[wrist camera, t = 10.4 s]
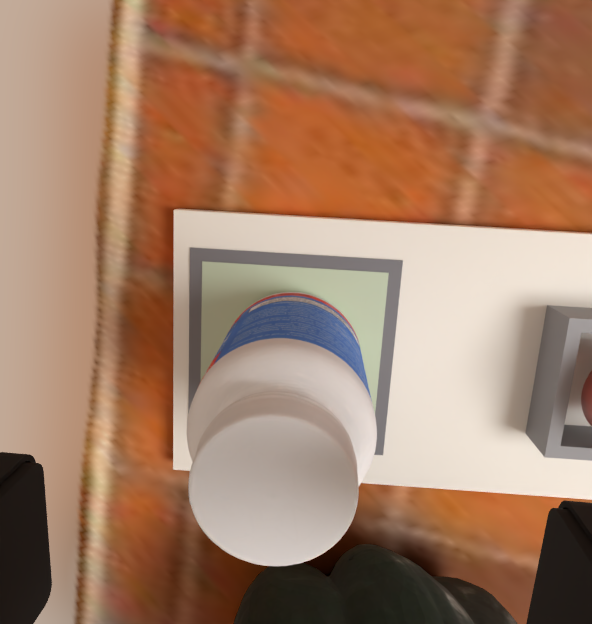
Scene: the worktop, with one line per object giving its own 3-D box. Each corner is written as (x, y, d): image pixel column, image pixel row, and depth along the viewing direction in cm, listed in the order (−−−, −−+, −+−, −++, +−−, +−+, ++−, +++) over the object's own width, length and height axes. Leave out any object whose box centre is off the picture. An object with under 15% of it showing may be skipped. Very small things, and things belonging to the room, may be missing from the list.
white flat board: (178, 208, 22) (159, 213, 19) (719, 240, 21) (778, 249, 19) (177, 460, 25) (160, 495, 22) (658, 494, 24) (702, 535, 21)
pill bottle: (216, 297, 22) (135, 390, 12) (353, 281, 21) (379, 365, 12) (236, 425, 23) (178, 599, 14) (365, 413, 23) (399, 583, 13)
